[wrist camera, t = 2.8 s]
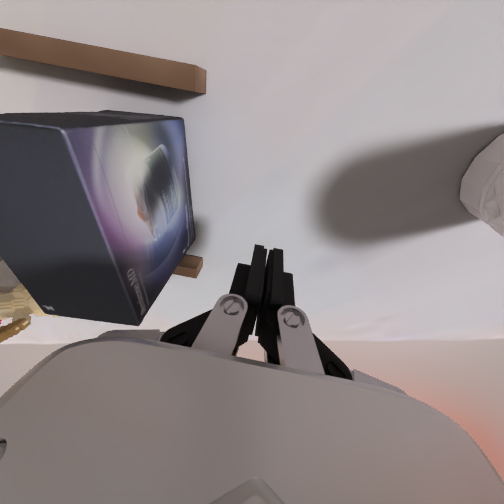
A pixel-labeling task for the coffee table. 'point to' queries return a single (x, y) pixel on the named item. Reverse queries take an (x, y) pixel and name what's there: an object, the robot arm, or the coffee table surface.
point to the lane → (109, 65)
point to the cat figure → (17, 311)
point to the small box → (94, 209)
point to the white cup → (486, 186)
